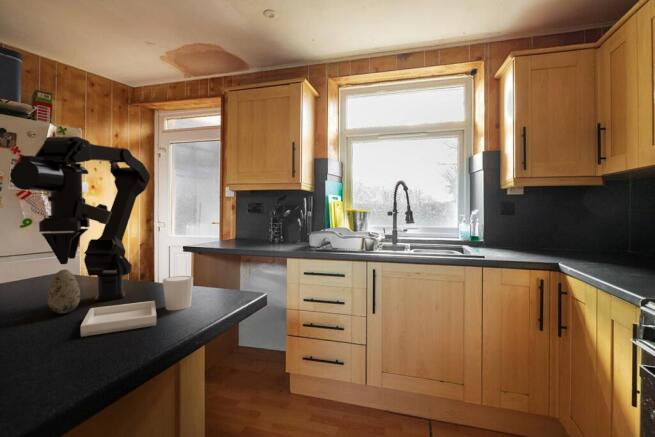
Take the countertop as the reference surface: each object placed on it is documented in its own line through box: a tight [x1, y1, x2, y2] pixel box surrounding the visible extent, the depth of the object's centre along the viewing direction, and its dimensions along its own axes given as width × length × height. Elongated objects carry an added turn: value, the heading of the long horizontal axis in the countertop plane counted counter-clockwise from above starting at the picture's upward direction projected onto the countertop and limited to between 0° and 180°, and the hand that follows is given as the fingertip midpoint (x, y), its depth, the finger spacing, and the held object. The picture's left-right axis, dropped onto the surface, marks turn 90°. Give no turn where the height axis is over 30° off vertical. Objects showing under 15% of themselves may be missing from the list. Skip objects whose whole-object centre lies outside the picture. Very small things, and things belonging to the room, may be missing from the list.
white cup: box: [162, 275, 194, 311], centre depth 81 cm, size 7×7×7 cm
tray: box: [80, 300, 157, 337], centre depth 71 cm, size 13×13×2 cm
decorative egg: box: [46, 269, 81, 314], centre depth 76 cm, size 6×6×10 cm
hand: (68, 261), depth 76 cm, fingers open, 9 cm apart
